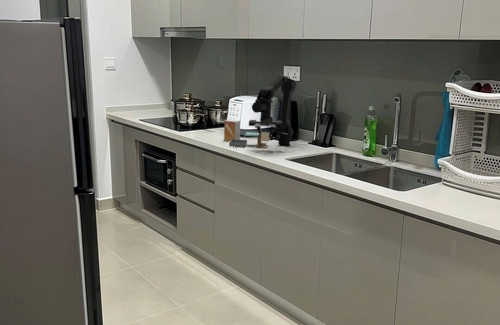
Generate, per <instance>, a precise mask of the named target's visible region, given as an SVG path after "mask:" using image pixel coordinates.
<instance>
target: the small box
mask: <svg viewBox="0 0 500 325" xmlns="http://www.w3.org/2000/svg"><path fill="white" fill-rule="evenodd" d="M223 124H224V126H223V127H224V128H223V129H224V130H223V131H224V132H223V134H224V136H223V141H224V142H229V141H231V140H232V139H235V140H241V120H237V119H226V120H225V119H224V123H223Z"/></svg>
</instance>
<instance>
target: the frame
mask: <svg viewBox="0 0 500 325" xmlns="http://www.w3.org/2000/svg"><path fill="white" fill-rule="evenodd" d="M256 139H257V142H256V143H257V144H256V149H266V147H267V142H262V141H260V135H258V136H257V138H256Z"/></svg>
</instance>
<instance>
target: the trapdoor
mask: <svg viewBox="0 0 500 325" xmlns="http://www.w3.org/2000/svg"><path fill="white" fill-rule="evenodd" d="M258 135H259V132H251V131H250V132H249V131H248V132H245V134H244V136H246V137H258ZM260 141H261V138H260ZM261 142H262V141H261Z"/></svg>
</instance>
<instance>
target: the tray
mask: <svg viewBox="0 0 500 325" xmlns="http://www.w3.org/2000/svg"><path fill="white" fill-rule="evenodd" d="M228 144H229V146H235V147H234V148H246V147H247V145H246V144H248V140H247V139H240V140H235V139H232V140H231V141H230V142H229V143H228ZM229 146H228V147H229ZM245 146H246V147H245Z"/></svg>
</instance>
